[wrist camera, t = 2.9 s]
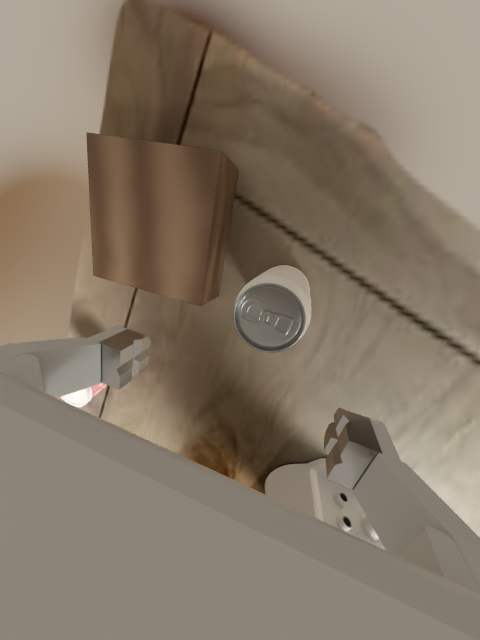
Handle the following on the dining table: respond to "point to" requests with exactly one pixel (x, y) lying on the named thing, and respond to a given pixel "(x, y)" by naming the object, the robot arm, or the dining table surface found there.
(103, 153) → the riser block
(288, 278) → the can
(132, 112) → the dining table surface
